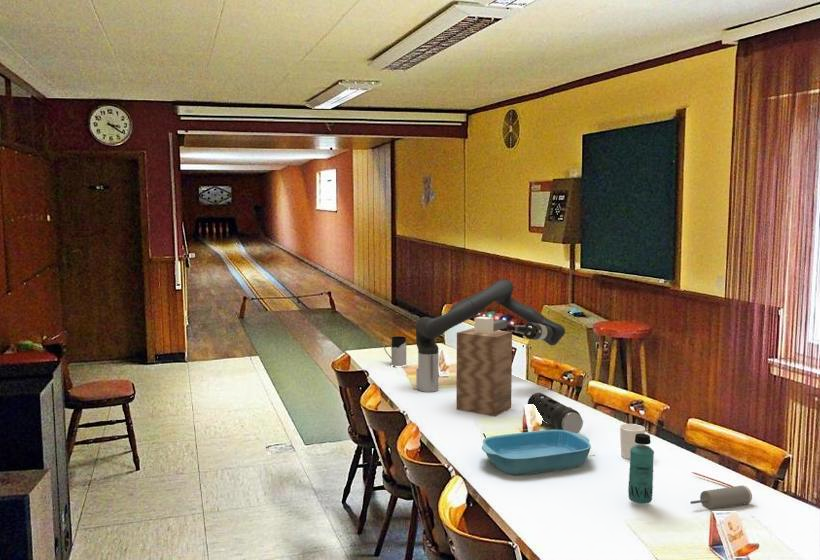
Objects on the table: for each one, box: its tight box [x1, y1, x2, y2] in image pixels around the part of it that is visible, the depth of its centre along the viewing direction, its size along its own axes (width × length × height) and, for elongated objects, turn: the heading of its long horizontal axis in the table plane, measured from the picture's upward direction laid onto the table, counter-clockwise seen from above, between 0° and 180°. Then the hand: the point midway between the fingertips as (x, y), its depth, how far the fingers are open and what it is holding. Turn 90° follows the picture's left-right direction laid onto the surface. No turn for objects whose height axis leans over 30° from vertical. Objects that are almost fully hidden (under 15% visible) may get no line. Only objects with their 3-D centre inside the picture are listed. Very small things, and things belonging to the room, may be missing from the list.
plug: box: [473, 316, 508, 334], centre depth 294 cm, size 6×19×6 cm, turn 145°
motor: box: [690, 471, 753, 511], centre depth 205 cm, size 23×22×5 cm
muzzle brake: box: [527, 392, 584, 434], centre depth 266 cm, size 10×28×10 cm, turn 16°
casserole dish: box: [481, 429, 592, 476], centre depth 230 cm, size 37×22×7 cm, turn 108°
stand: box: [455, 327, 513, 417], centre depth 290 cm, size 18×14×32 cm
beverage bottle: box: [627, 433, 655, 505], centre depth 196 cm, size 6×7×20 cm
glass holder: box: [382, 335, 407, 366], centre depth 373 cm, size 9×14×15 cm, turn 57°
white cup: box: [619, 423, 646, 460], centre depth 235 cm, size 8×8×10 cm
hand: (515, 328), depth 305 cm, fingers open, 8 cm apart
